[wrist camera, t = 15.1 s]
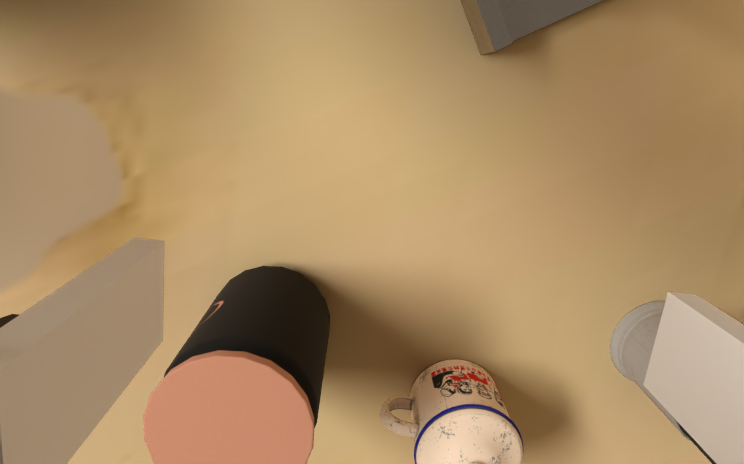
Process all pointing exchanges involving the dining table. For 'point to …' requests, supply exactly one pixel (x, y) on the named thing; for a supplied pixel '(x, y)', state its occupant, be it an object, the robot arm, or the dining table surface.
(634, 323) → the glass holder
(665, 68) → the dining table surface
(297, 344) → the coffee jar
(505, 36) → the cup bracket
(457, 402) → the teacup with lid
